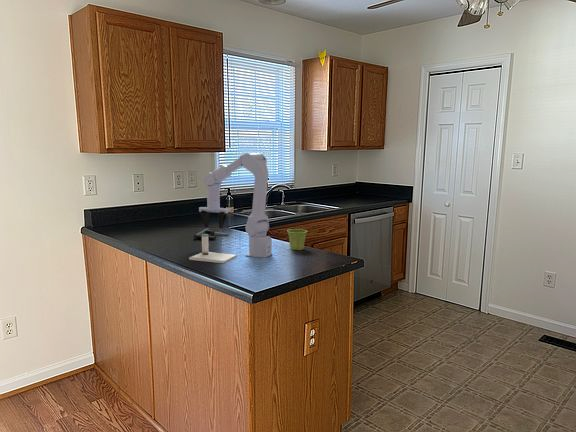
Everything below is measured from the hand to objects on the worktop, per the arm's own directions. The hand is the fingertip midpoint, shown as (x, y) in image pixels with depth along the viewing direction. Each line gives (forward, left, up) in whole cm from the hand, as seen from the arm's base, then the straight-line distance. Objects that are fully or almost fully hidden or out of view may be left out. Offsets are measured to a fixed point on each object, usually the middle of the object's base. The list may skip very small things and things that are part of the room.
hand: (213, 227), depth 199 cm
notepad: (-10, +18, -9) cm, 23 cm away
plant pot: (-37, -12, -10) cm, 40 cm away
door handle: (+14, -22, -10) cm, 28 cm away
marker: (-5, +16, -9) cm, 19 cm away
